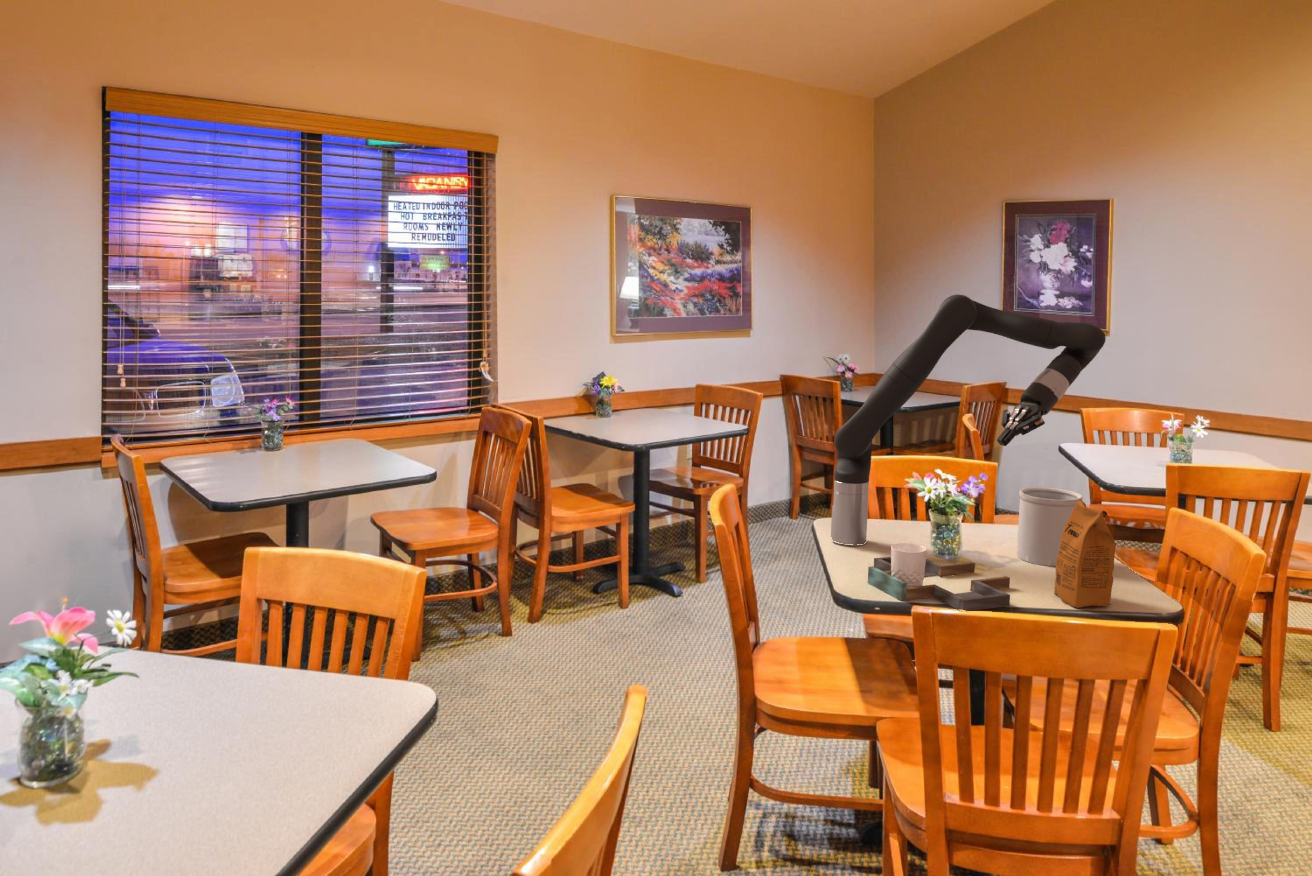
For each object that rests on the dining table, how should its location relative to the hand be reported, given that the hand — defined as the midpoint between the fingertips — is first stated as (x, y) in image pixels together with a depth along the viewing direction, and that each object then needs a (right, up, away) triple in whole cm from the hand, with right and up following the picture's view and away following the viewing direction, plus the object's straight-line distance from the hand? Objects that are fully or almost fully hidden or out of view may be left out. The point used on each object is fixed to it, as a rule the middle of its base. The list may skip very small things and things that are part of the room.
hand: (1000, 443), depth 221 cm
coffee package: (+11, -35, -17) cm, 41 cm away
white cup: (-26, -34, -11) cm, 44 cm away
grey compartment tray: (-18, -33, -8) cm, 38 cm away
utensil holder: (+17, -30, +16) cm, 38 cm away
